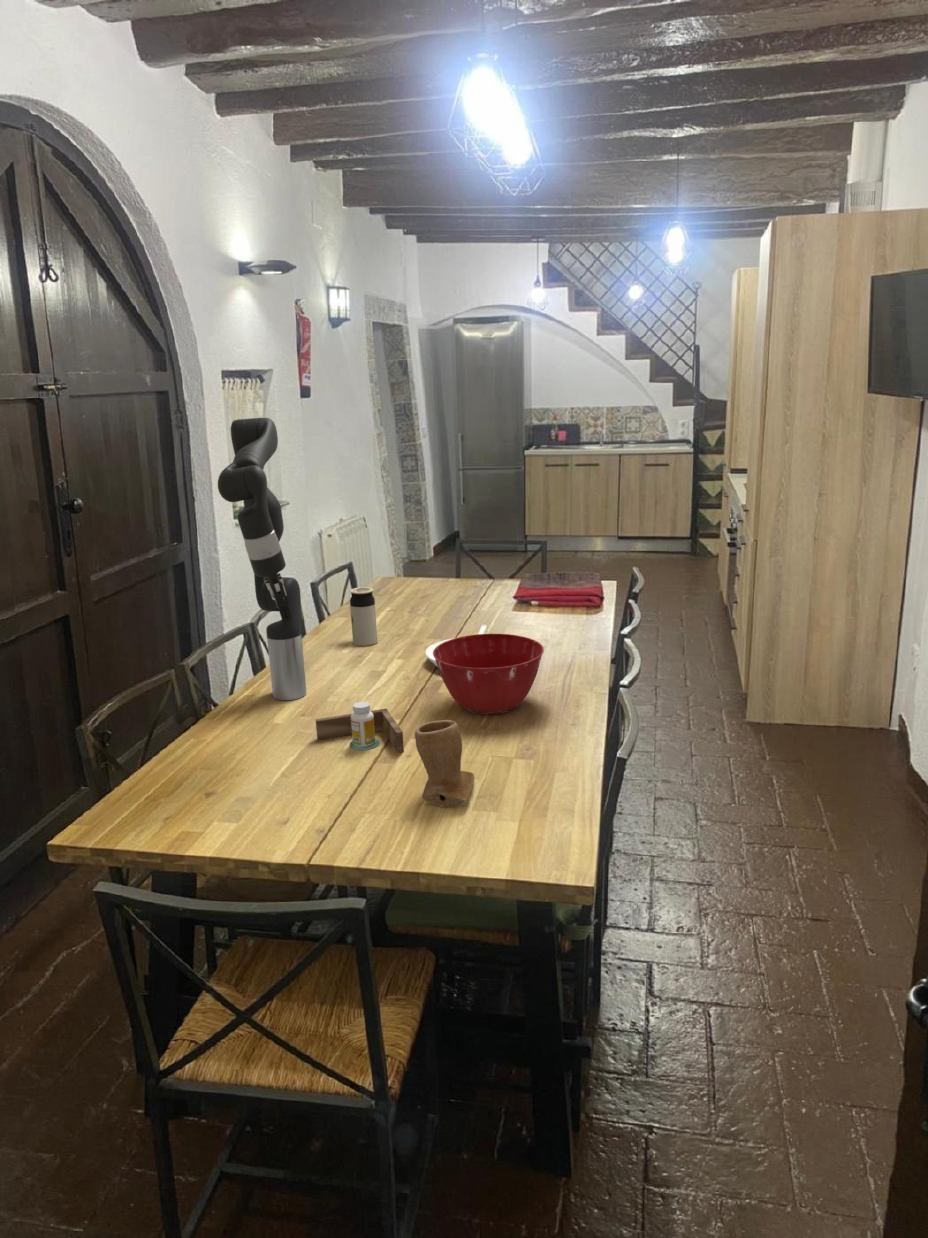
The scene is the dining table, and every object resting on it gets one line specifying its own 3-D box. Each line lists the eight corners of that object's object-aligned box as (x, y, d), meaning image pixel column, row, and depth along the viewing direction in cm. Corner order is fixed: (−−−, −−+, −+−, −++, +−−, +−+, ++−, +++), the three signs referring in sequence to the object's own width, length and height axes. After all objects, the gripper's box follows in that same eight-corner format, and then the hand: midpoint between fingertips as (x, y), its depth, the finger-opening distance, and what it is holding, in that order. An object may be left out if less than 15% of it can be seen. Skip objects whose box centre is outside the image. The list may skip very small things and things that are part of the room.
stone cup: (424, 776, 194) (421, 711, 190) (479, 778, 192) (476, 713, 188) (408, 809, 180) (403, 739, 176) (466, 812, 178) (463, 742, 174)
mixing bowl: (537, 728, 218) (536, 668, 214) (424, 723, 223) (420, 664, 219) (550, 688, 244) (549, 634, 240) (448, 685, 250) (445, 632, 246)
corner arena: (317, 738, 217) (315, 719, 215) (387, 727, 222) (386, 708, 220) (328, 764, 202) (327, 743, 201) (403, 751, 207) (402, 731, 206)
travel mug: (379, 639, 296) (376, 586, 291) (374, 646, 289) (371, 592, 284) (356, 639, 297) (352, 586, 292) (350, 646, 289) (346, 592, 285)
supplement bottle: (376, 738, 215) (373, 700, 212) (374, 747, 210) (372, 708, 207) (353, 739, 215) (350, 701, 212) (351, 748, 209) (348, 709, 207)
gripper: (285, 556, 199) (305, 619, 207) (275, 537, 212) (294, 598, 219) (252, 566, 198) (273, 630, 205) (244, 547, 210) (264, 608, 217)
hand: (284, 613), depth 212 cm, fingers open, 8 cm apart
